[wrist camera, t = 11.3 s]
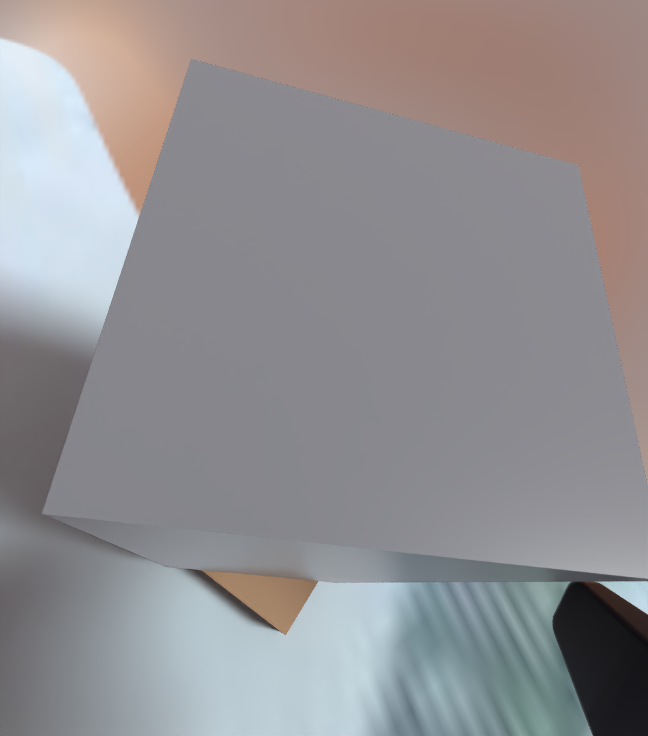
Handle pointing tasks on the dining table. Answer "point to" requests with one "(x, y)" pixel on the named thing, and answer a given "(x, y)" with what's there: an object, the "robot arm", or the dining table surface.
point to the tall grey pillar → (356, 357)
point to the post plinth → (268, 595)
